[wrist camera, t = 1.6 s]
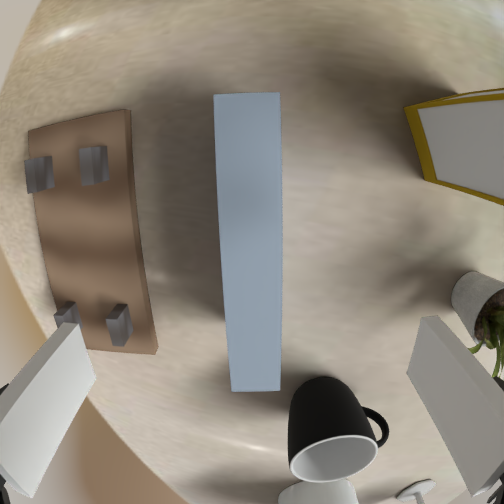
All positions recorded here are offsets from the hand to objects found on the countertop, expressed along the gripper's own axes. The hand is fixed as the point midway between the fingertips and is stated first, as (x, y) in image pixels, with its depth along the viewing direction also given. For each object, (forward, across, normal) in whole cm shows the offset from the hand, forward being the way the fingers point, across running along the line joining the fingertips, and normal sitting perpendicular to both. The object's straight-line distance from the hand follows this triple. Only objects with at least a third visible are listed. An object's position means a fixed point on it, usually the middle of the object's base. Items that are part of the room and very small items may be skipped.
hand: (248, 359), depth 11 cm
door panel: (+18, 0, 0) cm, 19 cm away
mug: (+19, +9, -21) cm, 29 cm away
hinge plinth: (+18, -16, -1) cm, 24 cm away
